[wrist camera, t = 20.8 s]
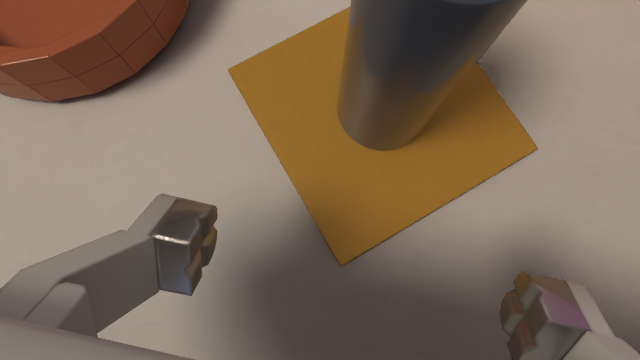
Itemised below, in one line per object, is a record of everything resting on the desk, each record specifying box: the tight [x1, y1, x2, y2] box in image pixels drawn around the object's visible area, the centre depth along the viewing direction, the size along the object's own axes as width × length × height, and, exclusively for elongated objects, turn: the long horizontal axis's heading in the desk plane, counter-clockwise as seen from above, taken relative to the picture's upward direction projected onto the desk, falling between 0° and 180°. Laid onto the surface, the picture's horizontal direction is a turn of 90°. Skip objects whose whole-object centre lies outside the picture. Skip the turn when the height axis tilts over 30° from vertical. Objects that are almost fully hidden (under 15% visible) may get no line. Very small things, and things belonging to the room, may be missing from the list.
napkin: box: [228, 7, 538, 266], centre depth 20 cm, size 11×11×1 cm
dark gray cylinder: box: [337, 0, 527, 151], centre depth 14 cm, size 4×4×11 cm
